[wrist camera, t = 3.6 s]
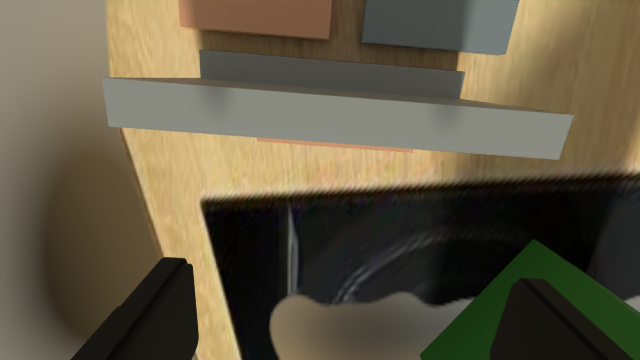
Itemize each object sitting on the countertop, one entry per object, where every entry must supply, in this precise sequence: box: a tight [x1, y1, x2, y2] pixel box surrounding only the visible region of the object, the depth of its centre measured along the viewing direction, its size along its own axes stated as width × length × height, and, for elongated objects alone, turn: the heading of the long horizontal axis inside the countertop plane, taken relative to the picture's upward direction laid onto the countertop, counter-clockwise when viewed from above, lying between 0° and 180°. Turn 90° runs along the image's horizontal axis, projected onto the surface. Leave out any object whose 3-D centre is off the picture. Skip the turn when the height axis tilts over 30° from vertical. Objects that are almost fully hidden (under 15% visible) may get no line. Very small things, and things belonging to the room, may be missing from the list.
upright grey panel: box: [102, 50, 574, 160], centre depth 19 cm, size 20×6×12 cm, turn 86°
